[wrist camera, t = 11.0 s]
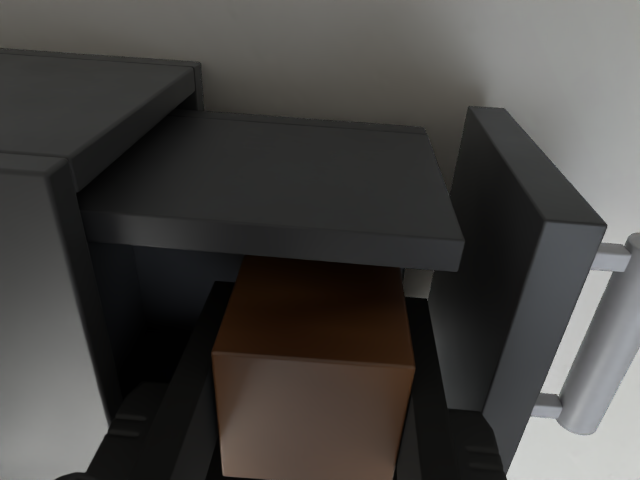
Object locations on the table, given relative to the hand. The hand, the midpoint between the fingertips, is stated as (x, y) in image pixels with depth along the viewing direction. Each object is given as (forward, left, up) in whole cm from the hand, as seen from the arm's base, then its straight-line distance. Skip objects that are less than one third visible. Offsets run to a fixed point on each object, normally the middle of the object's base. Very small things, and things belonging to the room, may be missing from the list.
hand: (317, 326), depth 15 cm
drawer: (-1, 0, -5) cm, 5 cm away
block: (0, 0, -1) cm, 1 cm away
